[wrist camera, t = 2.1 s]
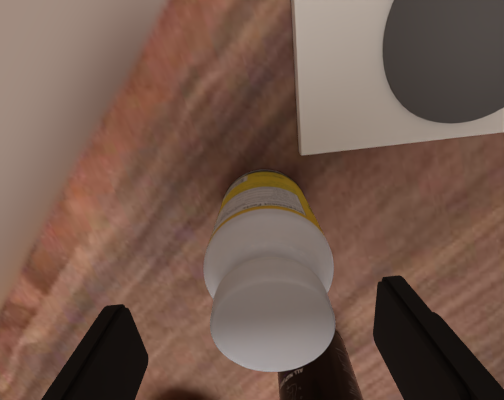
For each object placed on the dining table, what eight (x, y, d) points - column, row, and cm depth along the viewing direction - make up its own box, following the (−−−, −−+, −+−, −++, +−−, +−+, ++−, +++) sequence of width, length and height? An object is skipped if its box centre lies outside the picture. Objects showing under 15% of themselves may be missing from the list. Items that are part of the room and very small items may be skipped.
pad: (600, -103, 12) (610, -109, 12) (537, 112, 16) (544, 112, 16) (390, -69, 13) (393, -74, 12) (377, 131, 17) (379, 132, 16)
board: (683, -130, 13) (725, -152, 12) (592, 118, 17) (615, 119, 16) (287, -64, 14) (290, -78, 13) (298, 152, 18) (301, 155, 17)
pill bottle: (277, 253, 22) (299, 406, 11) (209, 220, 21) (159, 355, 10) (320, 190, 19) (400, 305, 9) (246, 151, 18) (233, 226, 8)
